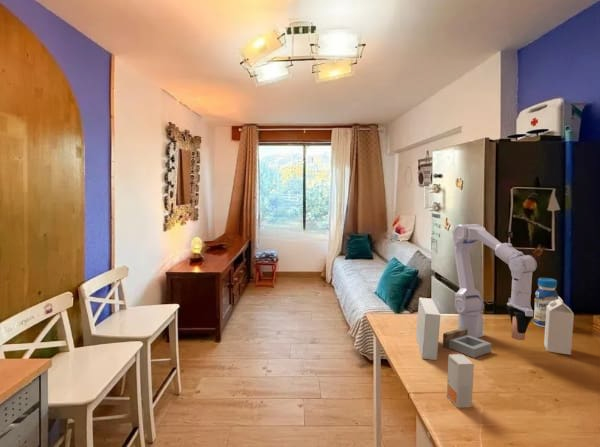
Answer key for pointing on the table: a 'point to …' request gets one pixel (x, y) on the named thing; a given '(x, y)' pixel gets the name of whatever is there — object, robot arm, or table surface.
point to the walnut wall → (453, 335)
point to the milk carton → (558, 327)
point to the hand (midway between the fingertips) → (518, 330)
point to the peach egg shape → (516, 331)
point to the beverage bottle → (544, 299)
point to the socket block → (470, 345)
